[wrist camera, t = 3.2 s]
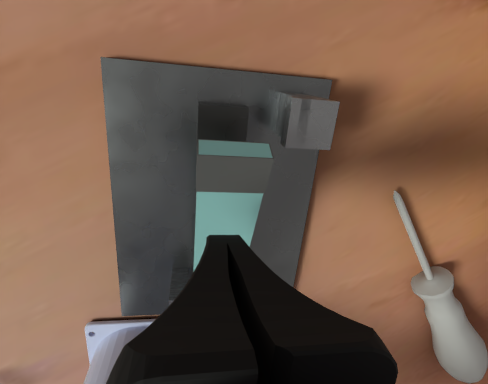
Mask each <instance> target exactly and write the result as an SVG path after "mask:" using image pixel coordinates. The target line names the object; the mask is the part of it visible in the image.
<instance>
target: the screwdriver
mask: <svg viewBox="0 0 488 384" xmlns="http://www.w3.org/2000/svg"><path fill="white" fill-rule="evenodd" d="M393 199H394V201H395V204H396V206H397V209H398V211H399V213H400V216H401V218H402V221H403V223H404V225H405V228H406V230H407V233H408V235H409V238H410V240H411V242H412V245H413V247H414V250H415V252H416V254H417V257H418V259H419V262H420V264H421V266H422V269H423V271H422V272H420V273H418V274H417V275H415V276H414V277H412V281H411V286H412V289H413V292H414V293H415V294H416V295H418V296H419V297H421V298H422V299H423V300H424V303H425V309H424V311H425V314H426V317H427V319H428V321H429V323H430V326H431V332H432V339H433V349H434V352H435V355H436V357H437V359H438V361H439V363H440V365H441V366H442V367H443V368H444V369H445V370H446V371H447V372H448V373H449V374H450V375H451V376H452V377H454V378H455V379H456V380H459V381H462V382H466V383H474V382H478V381H480V380H481V379H482V378H483V376H484V374H485V372H486V370H487V367H488V356H487V349H486V346H485V343H484V341H483V339H482V338H481V337H480V336H479V334H478V333H477V332H476V331H475V329H474V328H473V327H472V325H471V324H470V322H469V321H468V319H467V317H466V315H465V312H464V309H463V307H462V304H461V303H460V302H459V301H458V299H457V298H455V297H454V294H453V292H452V290H453V287H454V277H453V275H452V274H451V273H450V272H449V270H447V269H445V268H443V267H440V266H432V267H430V266H429V264H428V261H427V259H426V256H425V254H424V251H423V249H422V246H421V244H420V241H419V239H418V236H417V234H416V231H415V229H414V226H413V224H412V221H411V219H410V216H409V214H408V211H407V209H406V206H405V204H404V202H403V200H402V198H401V196H400V194H399V193H398V192H396V191H395V190H394V195H393Z"/></svg>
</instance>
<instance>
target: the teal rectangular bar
mask: <svg viewBox="0 0 488 384" xmlns="http://www.w3.org/2000/svg"><path fill="white" fill-rule="evenodd" d="M273 161H274V157H273V153H272V150H271V146H270V143H259V142H242V141H224V140H207V139H197V165H196V192H197V193H196V218H195V242H194V266H193V272H194V270H195V269H196V267H197V265H198V263H199V261H200V258H201V256H202V254H203V251H204V248H205V245H206V237H207V236H209V235H240V236H241V237H242V239H243V240H244V241H245V242H246V243H247V245H248V246H249V247H250V243H251V239H252V236H253V232H254V228H255V224H256V220H257V216H258V213H259V209H260V205H261V201H262V197H263V194H265V191H266V187H267V184H268V180H269V176H270V172H271V168H272V165H273Z"/></svg>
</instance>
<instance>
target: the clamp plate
mask: <svg viewBox="0 0 488 384" xmlns="http://www.w3.org/2000/svg"><path fill="white" fill-rule="evenodd" d="M101 68H102V81H103V93H104V105H105V117H106V129H107V141H108V153H109V165H110V178H111V190H112V202H113V214H114V226H115V238H116V250H117V263H118V275H119V287H120V299H121V311H122V316H135V315H158V314H162V313H163V312H164V311H165V310H166V309H167V308H168V307H169V305H170V304H171V303H172V302H173V301H174V299H175V298H176V297H177V296H178V295H179V293H180V292H181V291H182V289H183V288H184V287H185V285H186V284H187V282H188V281H189V279H190V277H191V276H192V274H193V266H194V242H195V218H196V193H197V192H196V165H197V139H207V140H224V141H242V142H259V143H270V146H271V150H272V153H273V157H274V161H273V165H272V168H271V172H270V176H269V180H268V184H267V187H266V191H265V194H263V197H262V201H261V205H260V209H259V213H258V216H257V220H256V224H255V228H254V232H253V236H252V239H251V243H250V248H251V249H252V250H253V252H254V253H255V254H256V255H257V256H258V257H259V258H260V259H261V260H262V261H263V262H264V263H265V264H266V265H267V266H268V267H269V268H270V269H271V270H272V271H273V272H274V273H275V274H276V275H278V276H279V277H280V278H281V279H283V280H284V281H285V282H286V283H288V284H289V285H290V286H292V287H293V286H294V280H295V275H296V270H297V265H298V259H299V254H300V249H301V243H302V238H303V233H304V228H305V222H306V217H307V212H308V206H309V201H310V196H311V191H312V185H313V180H314V175H315V169H316V164H317V159H318V154H319V150H330V148H331V143H332V138H333V133H334V128H335V124H336V119H337V114H338V109H339V104H340V102H339V101H335V100H330V99H329V95H330V90H331V85H332V80H327V79H317V78H307V77H297V76H287V75H277V74H267V73H256V72H246V71H236V70H226V69H216V68H206V67H196V66H185V65H175V64H165V63H155V62H145V61H135V60H125V59H114V58H104V57H101Z"/></svg>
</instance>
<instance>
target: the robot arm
mask: <svg viewBox="0 0 488 384" xmlns="http://www.w3.org/2000/svg"><path fill="white" fill-rule="evenodd" d="M92 332H94V333H92ZM85 335H86V342H87V348H88V355H89V362H90V367H89V370H88V373H87V375H86V378H85V381H84V384H395V382H396V378H397V374H398V369H397V363H396V361H395V360H394V358H393V357H392V355H391V354H390V352H389V351H388V349H387V348H386V346H385V344H384V343H383V341H382V340H381V339H380V337H379V336H378V335H377V333H376V332H375V331H374V330H373V328H370V327H368V326H365V325H363V324H361V323H358V322H356V321H353V320H351V319H348V318H346V317H344V316H342V315H340V314H338V313H336V312H334V311H331V310H329V309H327V308H326V307H324V306H322V305H320V304H318V303H316V302H315V301H313V300H312V299H310V298H308V297H307V296H305V295H303V294H302V293H300V292H299V291H297V290H296V289H294V288H293V287H292V286H290V285H289V284H288V283H286V282H285V281H284V280H283V279H281V278H280V277H279V276H278V275H276V274H275V273H274V272H273V271H272V270H271V269H270V268H269V267H268V266H267V265H266V264H265V263H264V262H263V261H262V260H261V259H260V258H259V257H258V256H257V255H256V254H255V253H254V252H253V250H252V249H251V248H250V247H249V246H248V245H247V243H246V242H245V241H244V240H243V239H242V237H241V236H240V235H209V236H207V237H206V245H205V248H204V251H203V254H202V256H201V258H200V261H199V263H198V265H197V267H196V269H195V270H194V272H193V274H192V276H191V277H190V279H189V281H188V282H187V284H186V285H185V287H184V288H183V289H182V291H181V292H180V293H179V295H178V296H177V297H176V298H175V299H174V301H173V302H172V303H171V304H170V305H169V307H168V308H167V309H166V310H165V311H164V312H163V313H162V314H161V315H160V316H159V317H158V318H157V319H140V320H118V321H96V322H89V323H87V324H86V327H85Z"/></svg>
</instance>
